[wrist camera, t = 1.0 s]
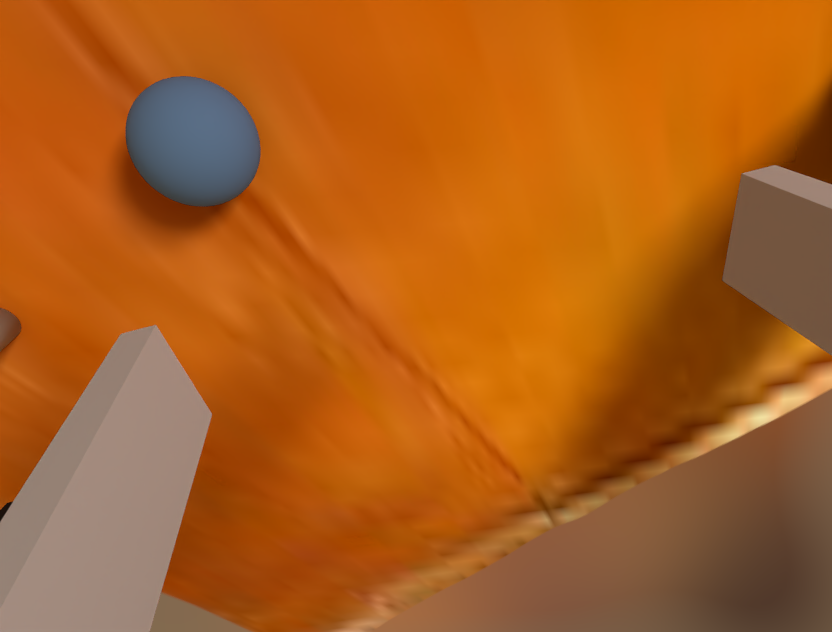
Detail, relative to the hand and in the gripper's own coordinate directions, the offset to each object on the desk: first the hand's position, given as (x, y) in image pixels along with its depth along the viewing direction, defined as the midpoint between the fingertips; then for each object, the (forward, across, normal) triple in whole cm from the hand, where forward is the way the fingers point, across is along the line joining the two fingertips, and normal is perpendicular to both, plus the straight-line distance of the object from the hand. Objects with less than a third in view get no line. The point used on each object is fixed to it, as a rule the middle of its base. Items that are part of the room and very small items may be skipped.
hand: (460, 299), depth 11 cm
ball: (+17, +9, -2) cm, 19 cm away
